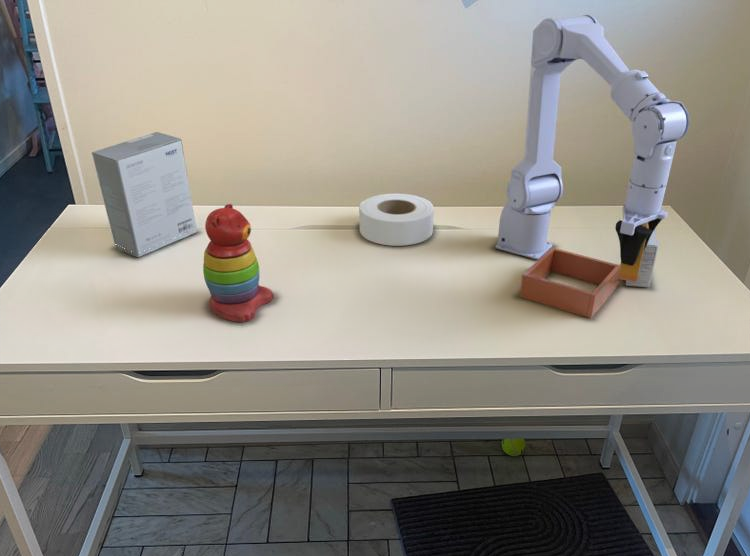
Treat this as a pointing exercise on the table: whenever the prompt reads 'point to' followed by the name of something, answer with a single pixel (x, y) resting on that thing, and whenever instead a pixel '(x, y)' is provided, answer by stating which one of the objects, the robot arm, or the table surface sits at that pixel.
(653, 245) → the medicine box
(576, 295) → the terracotta planter box
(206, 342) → the table surface
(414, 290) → the table surface
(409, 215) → the tape roll
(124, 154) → the hard drive box
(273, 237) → the table surface
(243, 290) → the stacking bear
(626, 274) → the supplement box
